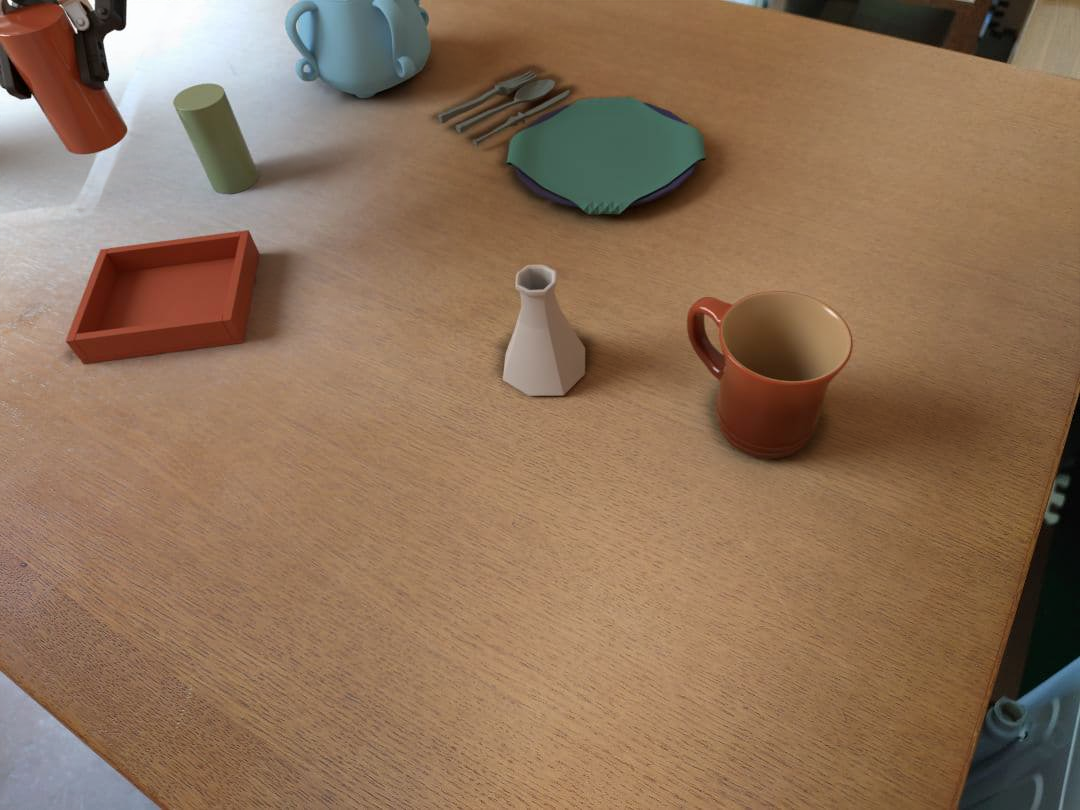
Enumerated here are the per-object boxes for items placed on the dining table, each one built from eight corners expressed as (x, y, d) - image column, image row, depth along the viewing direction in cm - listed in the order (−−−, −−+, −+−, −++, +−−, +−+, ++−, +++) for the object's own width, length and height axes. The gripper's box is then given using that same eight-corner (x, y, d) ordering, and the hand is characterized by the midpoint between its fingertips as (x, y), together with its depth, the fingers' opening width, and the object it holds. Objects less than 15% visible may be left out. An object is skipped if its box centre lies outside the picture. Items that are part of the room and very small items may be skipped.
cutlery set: (602, 249, 75) (602, 230, 73) (423, 132, 90) (419, 114, 88) (738, 161, 82) (740, 142, 80) (551, 66, 98) (550, 48, 96)
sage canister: (208, 196, 85) (168, 113, 78) (216, 169, 89) (177, 86, 81) (256, 190, 85) (220, 106, 78) (261, 163, 89) (227, 80, 81)
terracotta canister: (57, 158, 64) (-19, 39, 57) (74, 124, 68) (4, 7, 60) (120, 150, 64) (52, 30, 57) (133, 116, 68) (71, -2, 60)
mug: (843, 422, 60) (878, 329, 52) (778, 494, 56) (805, 405, 49) (716, 348, 66) (730, 254, 58) (650, 408, 62) (655, 317, 54)
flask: (521, 328, 69) (510, 239, 61) (598, 346, 67) (597, 256, 59) (489, 387, 65) (472, 299, 57) (570, 408, 63) (564, 320, 55)
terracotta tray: (82, 364, 70) (64, 341, 68) (115, 272, 78) (100, 249, 76) (243, 342, 70) (231, 319, 68) (259, 253, 78) (249, 229, 76)
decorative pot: (290, 106, 96) (250, -7, 86) (333, 42, 106) (302, -67, 95) (416, 110, 94) (391, -7, 83) (448, 44, 103) (429, -68, 93)
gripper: (-122, -156, 55) (-71, 89, 57) (79, -180, 56) (124, 64, 57) (-47, -98, 63) (-3, 116, 65) (131, -120, 63) (169, 94, 65)
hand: (57, 90), depth 61 cm, fingers closed on terracotta canister, 5 cm apart
